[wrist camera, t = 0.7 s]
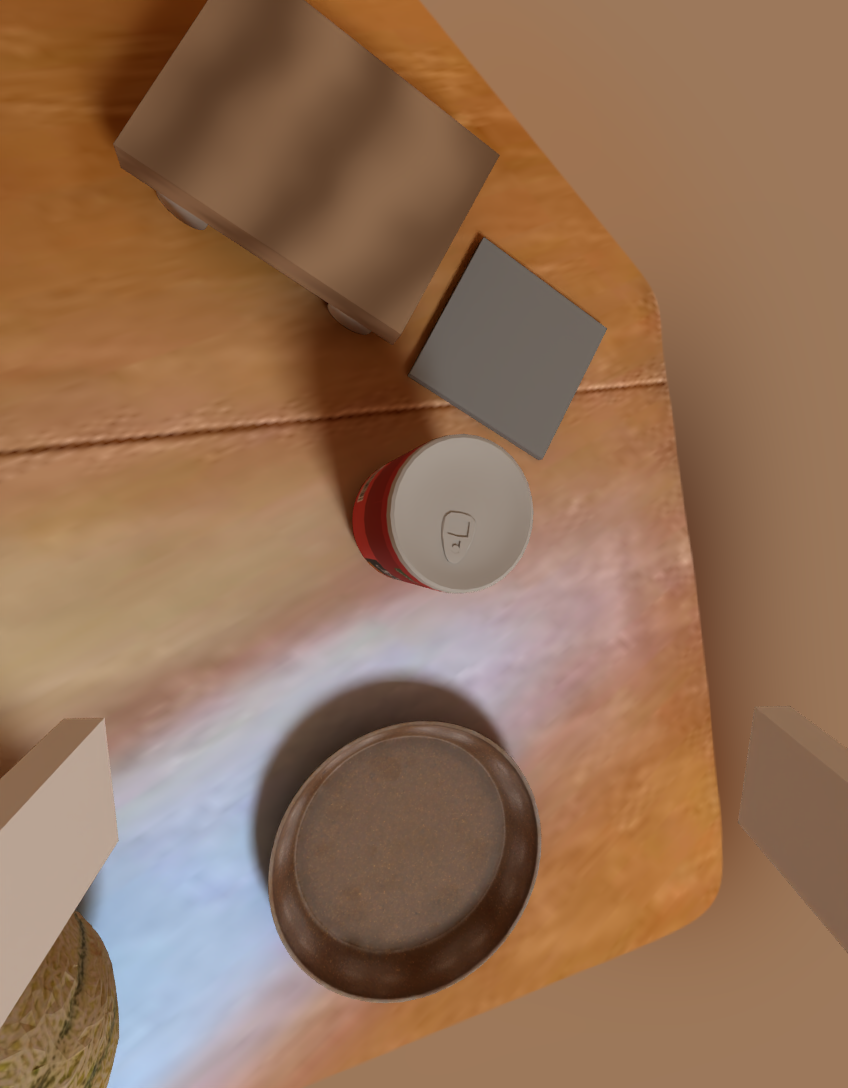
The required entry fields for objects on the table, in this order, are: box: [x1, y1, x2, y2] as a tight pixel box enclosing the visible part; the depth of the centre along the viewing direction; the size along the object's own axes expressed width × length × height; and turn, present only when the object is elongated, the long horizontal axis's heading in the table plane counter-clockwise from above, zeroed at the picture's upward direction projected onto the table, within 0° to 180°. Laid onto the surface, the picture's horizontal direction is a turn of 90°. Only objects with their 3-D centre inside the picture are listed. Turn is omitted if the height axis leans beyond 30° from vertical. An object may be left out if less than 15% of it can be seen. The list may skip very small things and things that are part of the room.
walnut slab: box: [114, 0, 499, 345], centre depth 36 cm, size 17×13×5 cm
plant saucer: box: [268, 721, 541, 1003], centre depth 39 cm, size 18×18×3 cm
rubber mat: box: [408, 238, 607, 460], centre depth 42 cm, size 11×11×1 cm
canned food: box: [352, 434, 533, 594], centre depth 35 cm, size 8×8×11 cm
